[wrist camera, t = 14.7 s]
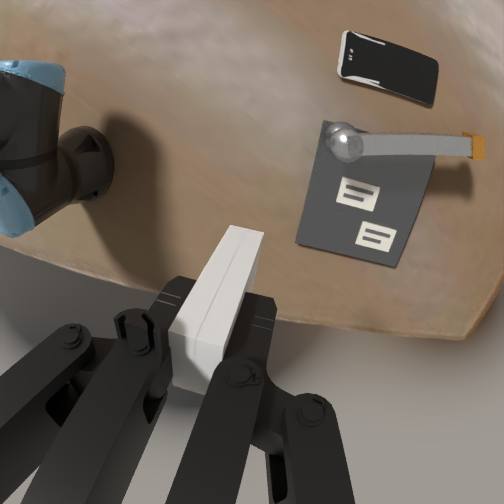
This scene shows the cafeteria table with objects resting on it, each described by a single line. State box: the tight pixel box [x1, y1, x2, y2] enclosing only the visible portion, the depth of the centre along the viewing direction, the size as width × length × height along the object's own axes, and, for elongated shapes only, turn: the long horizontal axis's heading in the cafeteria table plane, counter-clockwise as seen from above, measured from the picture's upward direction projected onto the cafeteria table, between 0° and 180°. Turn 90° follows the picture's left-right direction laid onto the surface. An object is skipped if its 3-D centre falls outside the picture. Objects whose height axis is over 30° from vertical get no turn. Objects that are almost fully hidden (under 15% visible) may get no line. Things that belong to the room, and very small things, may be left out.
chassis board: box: [295, 120, 436, 267], centre depth 40 cm, size 18×20×6 cm
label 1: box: [336, 177, 380, 212], centre depth 41 cm, size 6×4×1 cm, turn 81°
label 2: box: [355, 221, 396, 252], centre depth 44 cm, size 6×4×1 cm, turn 81°
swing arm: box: [330, 128, 485, 162], centre depth 30 cm, size 22×4×3 cm, turn 100°
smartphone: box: [337, 31, 439, 104], centre depth 32 cm, size 8×1×15 cm
